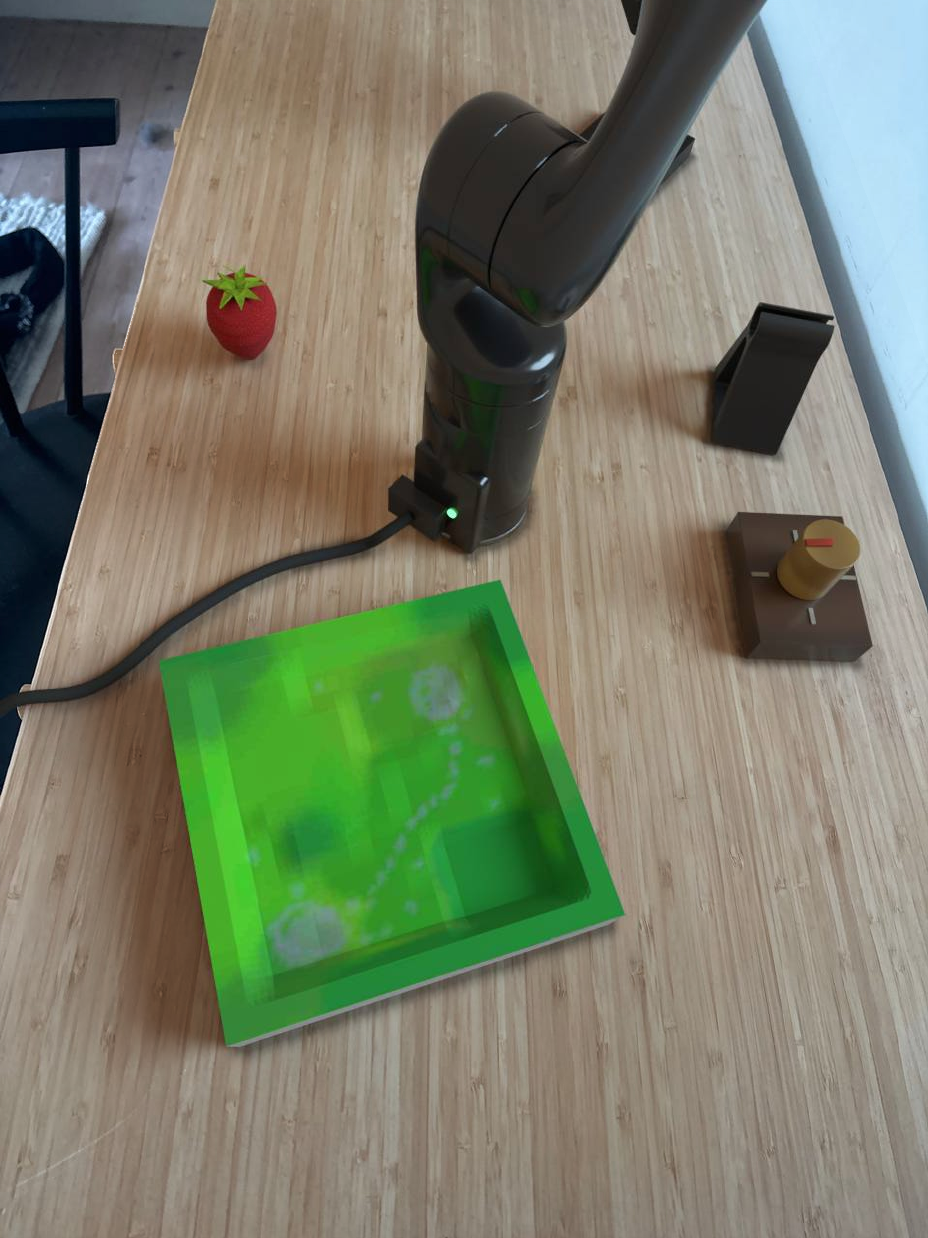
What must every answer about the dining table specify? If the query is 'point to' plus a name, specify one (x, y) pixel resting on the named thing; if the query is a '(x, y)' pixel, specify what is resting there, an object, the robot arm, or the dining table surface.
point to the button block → (677, 161)
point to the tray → (377, 808)
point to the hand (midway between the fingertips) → (650, 85)
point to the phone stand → (766, 376)
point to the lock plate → (790, 596)
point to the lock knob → (818, 559)
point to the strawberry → (241, 313)
